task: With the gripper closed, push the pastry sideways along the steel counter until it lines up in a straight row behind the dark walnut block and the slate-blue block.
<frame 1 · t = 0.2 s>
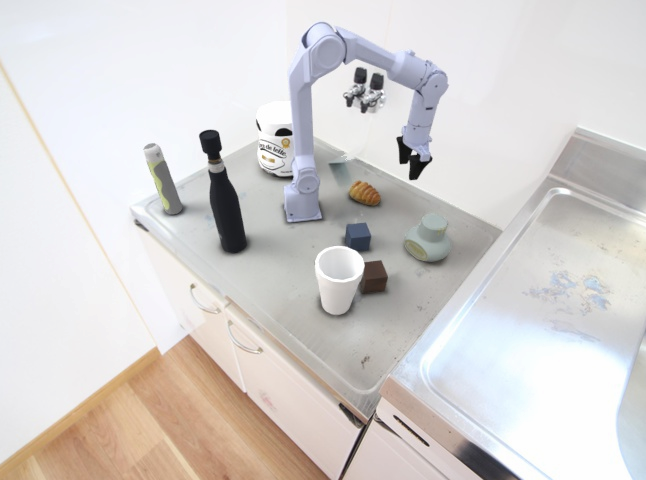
hand: (408, 171, 91), 10 cm above the worktop, tool pointing down, fingers open, 7 cm apart
slate block: (356, 244, 87), on the worktop
air freshener: (424, 251, 85), on the worktop
spray bottle: (174, 210, 98), on the worktop
foam cup: (335, 303, 75), on the worktop
walnut block: (370, 283, 78), on the worktop
pastry: (363, 197, 100), on the worktop
milk container: (285, 167, 112), on the worktop
wine bottle: (234, 245, 88), on the worktop
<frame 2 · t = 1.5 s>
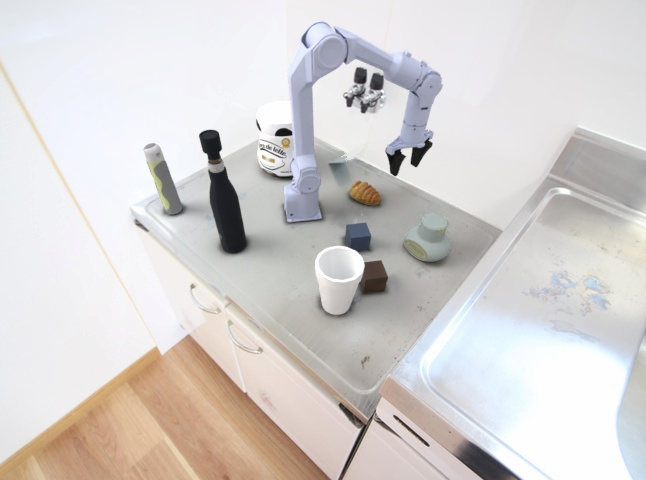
hand: (403, 169, 93), 9 cm above the worktop, tool pointing down, fingers open, 7 cm apart
nothing on the worktop moved.
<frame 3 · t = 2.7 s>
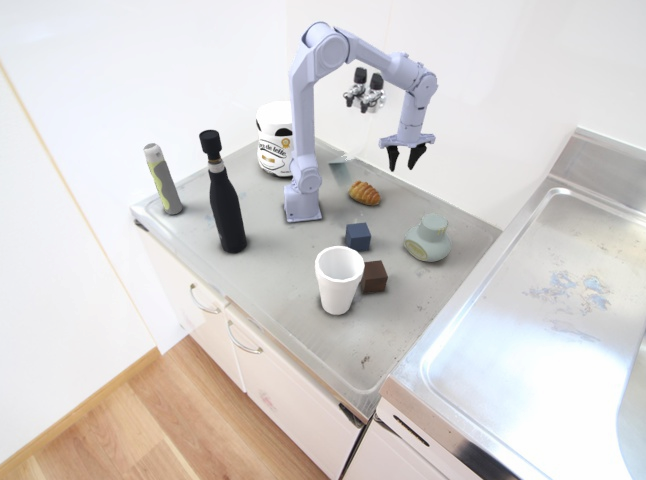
hand: (400, 168, 95), 8 cm above the worktop, tool pointing down, fingers open, 5 cm apart
nothing on the worktop moved.
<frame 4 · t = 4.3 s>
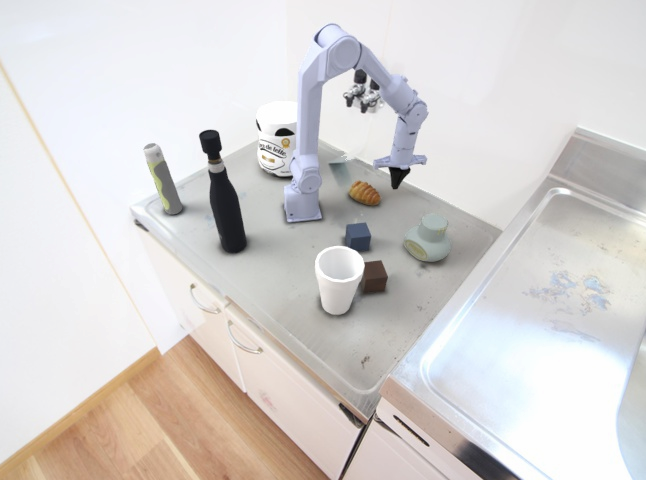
hand: (394, 187, 99), 2 cm above the worktop, tool pointing down, fingers closed
nothing on the worktop moved.
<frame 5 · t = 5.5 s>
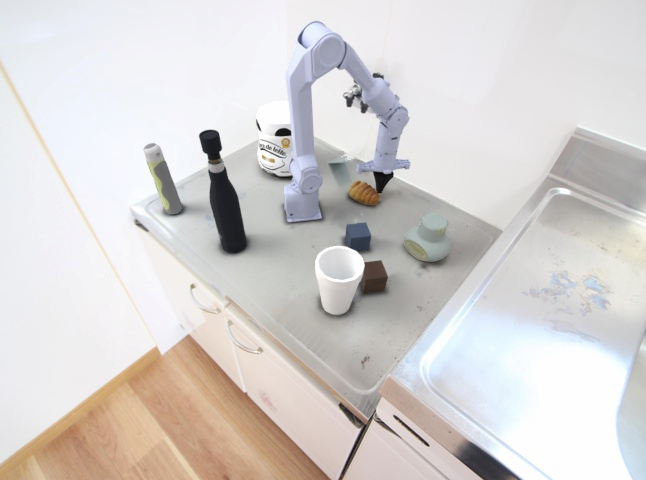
hand: (378, 191, 100), 1 cm above the worktop, tool pointing down, fingers closed
pastry: (363, 197, 100), on the worktop, touching gripper
everything else where it was.
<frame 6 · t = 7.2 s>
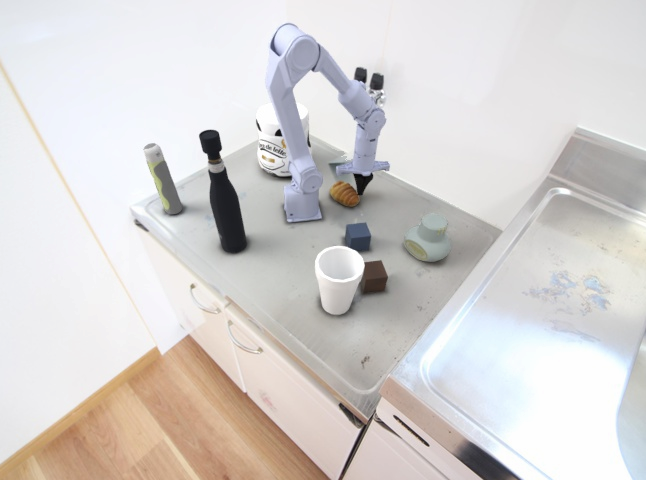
hand: (359, 193, 99), 1 cm above the worktop, tool pointing down, fingers closed
pastry: (344, 198, 100), on the worktop, touching gripper
everything else where it was.
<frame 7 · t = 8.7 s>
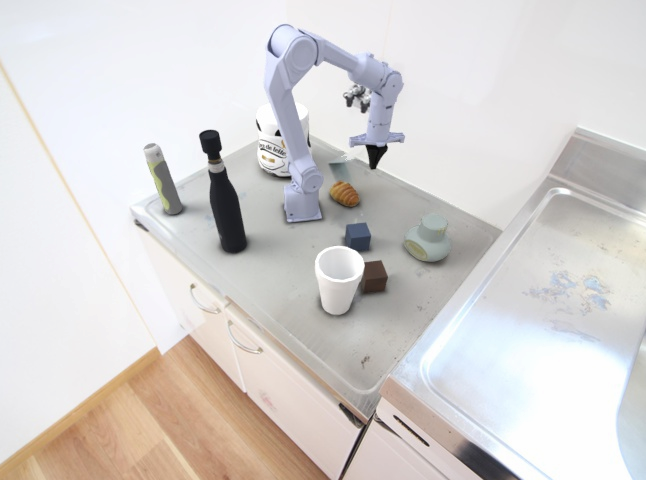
hand: (372, 167, 96), 8 cm above the worktop, tool pointing down, fingers closed
pastry: (344, 198, 100), on the worktop
everything else where it was.
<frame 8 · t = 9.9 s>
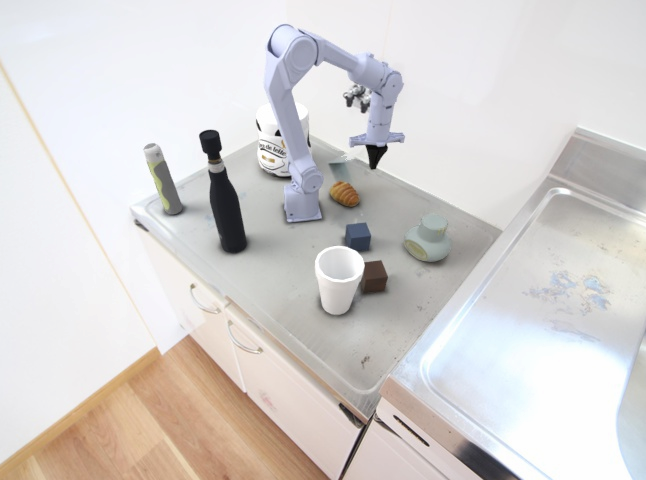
hand: (372, 167, 96), 8 cm above the worktop, tool pointing down, fingers closed
nothing on the worktop moved.
at the end: slate block moved 0.0 cm from its start; pastry tilted 0° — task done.
